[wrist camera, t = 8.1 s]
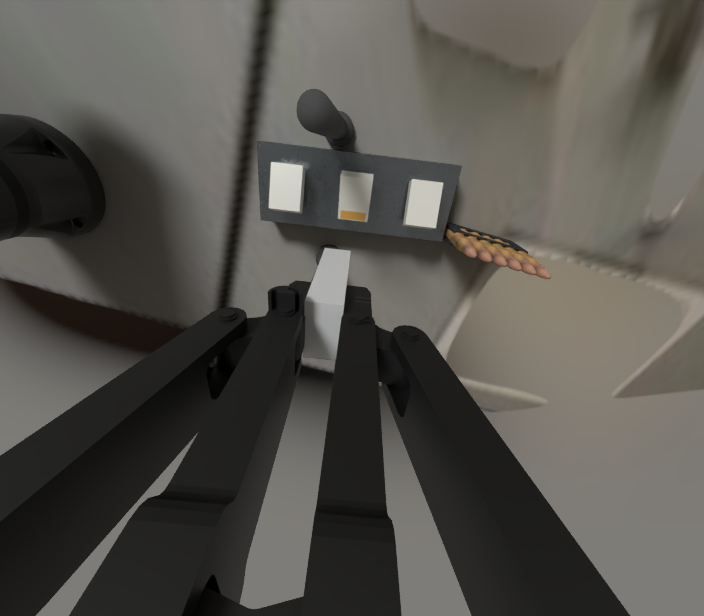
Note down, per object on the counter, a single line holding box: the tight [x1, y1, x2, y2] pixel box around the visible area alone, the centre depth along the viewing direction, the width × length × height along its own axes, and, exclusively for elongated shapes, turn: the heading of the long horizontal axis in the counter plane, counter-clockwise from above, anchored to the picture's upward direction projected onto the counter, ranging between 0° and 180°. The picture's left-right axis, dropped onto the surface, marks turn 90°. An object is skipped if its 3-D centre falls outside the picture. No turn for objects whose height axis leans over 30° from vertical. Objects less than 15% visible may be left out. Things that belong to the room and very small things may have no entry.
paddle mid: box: [338, 170, 373, 222], centre depth 33 cm, size 4×5×2 cm
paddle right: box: [403, 179, 443, 229], centre depth 33 cm, size 4×5×2 cm
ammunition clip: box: [443, 222, 551, 279], centre depth 36 cm, size 11×2×12 cm, turn 75°
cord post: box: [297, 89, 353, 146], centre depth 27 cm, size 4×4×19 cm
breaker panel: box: [257, 141, 462, 242], centre depth 37 cm, size 24×9×4 cm, turn 84°
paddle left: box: [269, 162, 306, 214], centre depth 33 cm, size 4×5×2 cm
